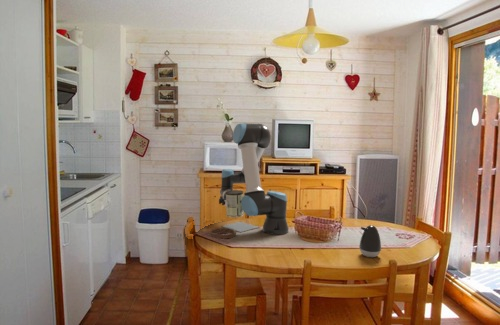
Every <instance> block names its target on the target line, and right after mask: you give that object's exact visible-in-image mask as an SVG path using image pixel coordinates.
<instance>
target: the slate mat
mask: <svg viewBox="0 0 500 325" xmlns="http://www.w3.org/2000/svg"><path fill="white" fill-rule="evenodd" d="M221 227H222V228H227V229H232V230H235V231H236V233H237V232H238V233H243V232H244V233H245V232H248V231H253V230H256V229H259V228H260V226H257V225H254V224H249V223H247V222H243V221H237V222H234V223H228V224H224V225H221Z"/></svg>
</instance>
